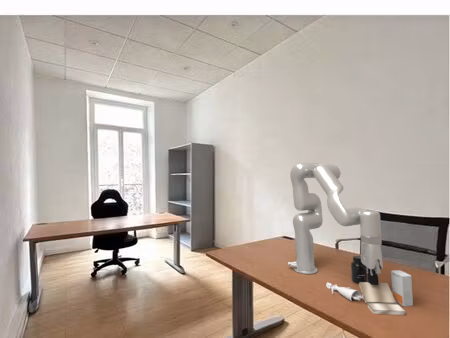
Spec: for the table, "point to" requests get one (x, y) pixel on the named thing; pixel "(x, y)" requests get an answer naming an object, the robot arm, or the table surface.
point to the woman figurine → (346, 292)
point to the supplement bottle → (358, 270)
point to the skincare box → (402, 287)
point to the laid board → (386, 308)
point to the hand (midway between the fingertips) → (373, 283)
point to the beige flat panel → (377, 293)
